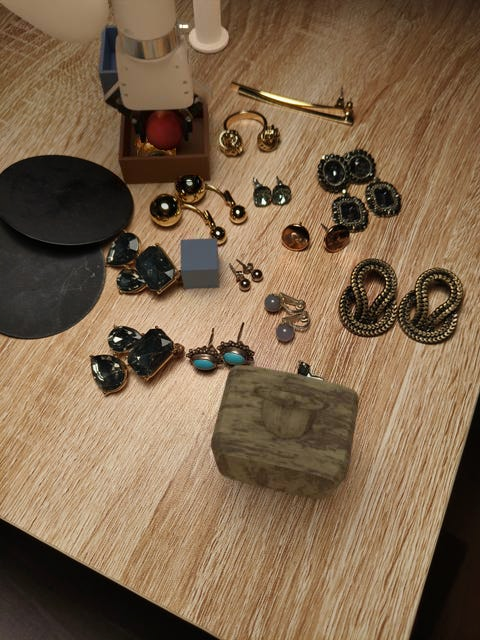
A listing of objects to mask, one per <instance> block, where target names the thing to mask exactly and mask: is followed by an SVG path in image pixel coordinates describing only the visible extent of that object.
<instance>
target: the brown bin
mask: <svg viewBox="0 0 480 640" xmlns="http://www.w3.org/2000/svg"><path fill="white" fill-rule="evenodd" d="M193 94H194V97H193V99H194V98H195V97H197V96H198V95H197V94H195V93H194V92H193ZM165 110H169V111H172V112H173V113H174V114H176V115H177V116H178V117H179V118H180V120H181V122H182V114H181V113H180V111H179V110H178V109H165ZM142 111H143V114H144V119H145V124H146V121H147V120H148V118H149V117H150V115H151V114H152V113H154V112H155V111H156V110H142ZM209 115H210V114H209V103H208V104H206V105H205V106H203V107H202V110H200V111H199V112H198V113H197V114H196V115H195V116H193V120H192V125H193V133H189V141H185V140H184V137H183V139H182V141H181V142H180V144H179V145H178V146H177V147H176V155H164V156H138V157H137V148H136V145H135V143H136V141H137V139H138V138H139V137H140V135H136V133H135V129H134V125H133V123H131V122H130V119H129V118H128V117H126V116H124V115H123V114H121V113H120V125H119V143H118V158H117V160H118V165H119V167H120V168H119V169H120V171H121V175H122V179H123V182H124V185H142V184H143V185H144V184H145V185H146V184H167V183H170V184H171V183H176V182H175V181H176V180H177V178H178V177H180V176H183V175H198V176H200V177H201V178H202V179H203V181H202V182H211V154H210V151H211V150H210V116H209Z"/></svg>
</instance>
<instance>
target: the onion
mask: <svg viewBox="0 0 480 640" xmlns="http://www.w3.org/2000/svg"><path fill="white" fill-rule="evenodd" d="M145 134H146V137H147V139H148V142H149V143H150V144H151V145H153V146H154V147H155V148H157V149H159V150H165V151H167V150H172V149H174V148H176V147H177V146H178V145H179V144H180V142H181V141H182V139H183V130H182V122H181V120H180V118H179V117H178V116H177V115H176V114H174V113H173V112H172V111H169V110H165V109H164V110H156V111H155V112H154V113H152V114H151V115H150V117H149V118H148V120H147V121H146V126H145Z"/></svg>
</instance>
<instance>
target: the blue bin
mask: <svg viewBox="0 0 480 640" xmlns="http://www.w3.org/2000/svg"><path fill="white" fill-rule="evenodd" d="M117 36H118V30H117V25H116V24H111V25H107V24H106V27H105V29H104V30H103V32H102V33H101V39H100V40H101V41H100V51H99V63H98V64H99V65H98V77H99V80H100V84H101V88H102V91H103V95H104V96H105V95H106V93H107V92H108V91H109V90H110V89H111V88H112V87H113V86H114V85H115V84H116V83H117V82H118V81H119V80H118V73H117V63H116V37H117ZM119 98H120V99H122V98H121V96H120V97H119Z"/></svg>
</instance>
